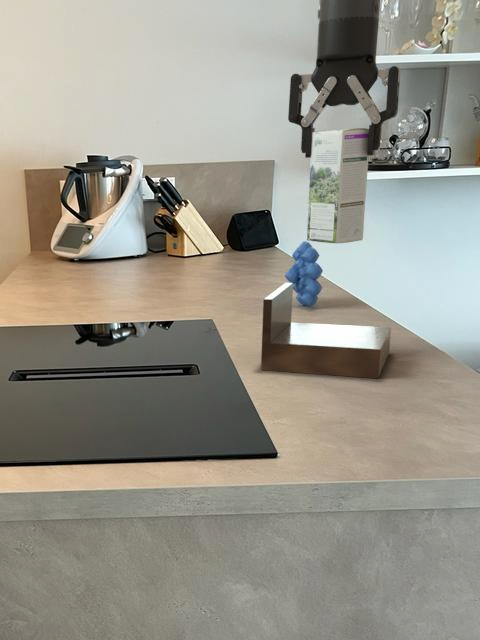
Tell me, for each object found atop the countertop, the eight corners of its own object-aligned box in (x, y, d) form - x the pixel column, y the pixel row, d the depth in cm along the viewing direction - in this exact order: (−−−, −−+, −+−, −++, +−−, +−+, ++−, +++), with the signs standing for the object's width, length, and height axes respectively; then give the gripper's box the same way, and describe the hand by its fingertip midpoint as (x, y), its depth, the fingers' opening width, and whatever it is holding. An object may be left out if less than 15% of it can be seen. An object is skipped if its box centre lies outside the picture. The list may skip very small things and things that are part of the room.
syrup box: (364, 240, 110) (373, 127, 105) (335, 244, 107) (342, 128, 102) (333, 237, 115) (340, 129, 109) (304, 241, 112) (310, 130, 106)
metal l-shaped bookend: (388, 353, 117) (395, 286, 113) (378, 378, 106) (385, 303, 102) (282, 347, 123) (285, 282, 119) (260, 370, 111) (263, 299, 108)
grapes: (273, 301, 158) (275, 239, 153) (305, 299, 159) (308, 238, 154) (293, 312, 148) (297, 246, 143) (327, 310, 148) (332, 244, 144)
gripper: (410, 16, 101) (397, 154, 107) (298, 27, 106) (292, 157, 113) (404, 8, 94) (391, 155, 101) (286, 20, 100) (280, 159, 106)
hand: (339, 156), depth 107 cm, fingers closed on syrup box, 7 cm apart
